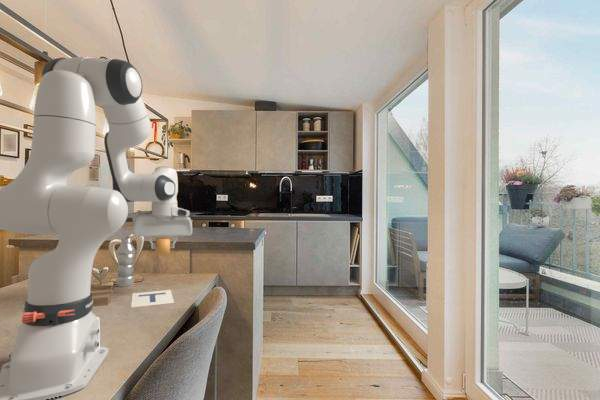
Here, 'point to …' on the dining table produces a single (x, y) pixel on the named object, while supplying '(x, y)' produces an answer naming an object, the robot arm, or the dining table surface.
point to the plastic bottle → (125, 263)
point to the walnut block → (101, 297)
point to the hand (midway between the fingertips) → (162, 248)
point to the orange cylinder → (162, 246)
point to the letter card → (151, 298)
